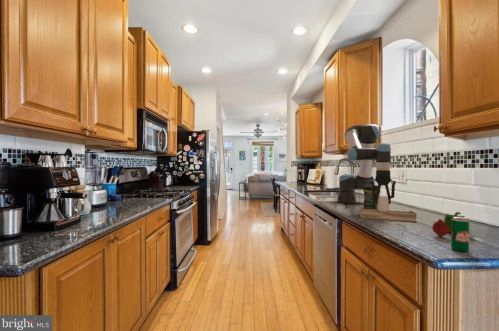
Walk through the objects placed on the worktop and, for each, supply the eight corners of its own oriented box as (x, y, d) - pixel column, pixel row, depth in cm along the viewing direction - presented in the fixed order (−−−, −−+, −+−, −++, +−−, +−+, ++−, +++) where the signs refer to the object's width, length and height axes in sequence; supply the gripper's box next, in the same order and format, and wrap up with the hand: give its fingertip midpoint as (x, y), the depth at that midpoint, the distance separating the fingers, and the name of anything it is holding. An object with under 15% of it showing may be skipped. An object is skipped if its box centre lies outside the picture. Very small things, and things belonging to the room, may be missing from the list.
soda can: (456, 252, 89) (457, 218, 89) (447, 247, 94) (448, 215, 94) (472, 253, 88) (473, 219, 88) (462, 248, 93) (463, 216, 93)
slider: (378, 212, 149) (378, 195, 149) (385, 213, 148) (385, 195, 148) (379, 214, 145) (379, 196, 145) (387, 214, 144) (387, 196, 144)
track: (359, 214, 155) (359, 206, 155) (411, 218, 146) (411, 209, 146) (361, 218, 146) (361, 209, 146) (417, 221, 136) (417, 212, 136)
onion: (451, 237, 107) (451, 219, 107) (445, 239, 104) (445, 220, 104) (436, 234, 112) (436, 216, 112) (429, 236, 109) (429, 217, 109)
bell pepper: (442, 229, 120) (443, 209, 120) (465, 232, 116) (465, 210, 116) (445, 233, 113) (445, 211, 113) (469, 236, 109) (469, 213, 109)
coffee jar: (360, 212, 161) (361, 184, 161) (368, 211, 165) (368, 183, 165) (374, 215, 153) (374, 185, 153) (382, 214, 157) (382, 184, 157)
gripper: (367, 169, 146) (367, 209, 146) (401, 170, 140) (401, 211, 140) (366, 169, 153) (366, 207, 153) (398, 169, 147) (398, 209, 147)
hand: (382, 209), depth 146 cm, fingers closed on slider, 4 cm apart
